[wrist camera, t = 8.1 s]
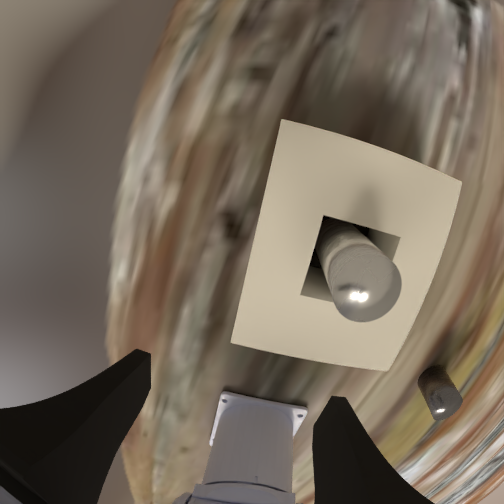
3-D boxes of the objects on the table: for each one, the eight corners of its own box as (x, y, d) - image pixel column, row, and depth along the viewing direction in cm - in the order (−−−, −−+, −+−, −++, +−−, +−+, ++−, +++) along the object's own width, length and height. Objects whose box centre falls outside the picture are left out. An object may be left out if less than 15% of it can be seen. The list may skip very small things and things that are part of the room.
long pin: (349, 266, 19) (385, 327, 11) (308, 255, 19) (322, 314, 11) (362, 224, 18) (411, 264, 10) (320, 212, 18) (346, 246, 10)
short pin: (434, 389, 21) (449, 419, 17) (412, 388, 21) (426, 420, 17) (449, 366, 20) (468, 395, 16) (427, 364, 21) (445, 396, 16)
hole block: (369, 330, 20) (387, 371, 15) (242, 303, 20) (230, 342, 16) (422, 176, 16) (462, 182, 12) (282, 131, 17) (281, 119, 12)
